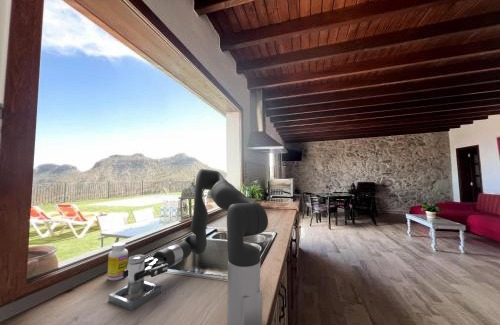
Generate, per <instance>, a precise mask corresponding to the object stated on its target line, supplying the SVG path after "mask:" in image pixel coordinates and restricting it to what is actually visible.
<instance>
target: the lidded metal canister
mask: <svg viewBox="0 0 500 325" xmlns="http://www.w3.org/2000/svg"><path fill="white" fill-rule="evenodd" d="M145 260H146V255H145V254H135V255H131V256H129V257H128V261H127V269H128V276H127V285H126V286H127V293H126V294H127V295H128V296H136V295H138V294H141V293H143V291H145V289H144V281H145V277H143V278H141V279H139V280H137V281H134V274H136V273H138V272H140V271H142V270H145Z"/></svg>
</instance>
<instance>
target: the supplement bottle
mask: <svg viewBox="0 0 500 325" xmlns="http://www.w3.org/2000/svg"><path fill="white" fill-rule="evenodd" d="M126 245H127V244H126V242H124V241H122V242H121V241H120V242H115V243H112V244H111V249H112V250H110V251H109V252H108V255H107V256H108V257H107V258H108V259H107V274H106V275H107V277H106V278H107V280H109V281H118V280H122V279H123V278H125V277H123V271H124V270H126V269H128V258H129V257H128V256H129V250H128V249H127V248H126Z"/></svg>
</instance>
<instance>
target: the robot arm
mask: <svg viewBox="0 0 500 325" xmlns="http://www.w3.org/2000/svg"><path fill="white" fill-rule="evenodd" d="M195 178H196V179H195V186H194V188H195V189H194V201H193V204H194V205H193V213H192V219H191V223H190V231H191V232H192V233H193V234H189V235H187V236H185V237H184V238H183V239H182V240H181V241H180V242H178V243H175V244H173V245H169V246H167V247H164V248H162V249H160V250H157V251H156V252H155V253H154V254H153V256H152V257H148V258H146V259H145V270H142V271H140V272H138V273H136V274H134V281H137V280H139V279H141V278H143V277H144V278H145V277H146V278H148V277H150V278H154V277H156V276H158V275H162V274H164V273H167V272H168V269H170V268H171V267H174V266H176V265H177V264H178V263H180V262H182V261H183V260H185V259H186V258H188V257H189V256H190V255H191V254H192V253H194V254H195V255H202V254H203V253H204V252H206V251H205V250H206V248H207V224H208V218H209V212H208V209H207V207H206V205H205V202H204V198H203V190H206V191H207V190H208V191H210V195H211V198H212V200H213V202H214V203H215V204H216V206H217V207H218V208H220V209H221V210H223V211H226V233H227V236H226V238H227V240H226V241H227V256H228V257H227V299H226V300H227V304H226V306H227V310H226V311H227V312H226V314H227V315H226V325H263V291H262V290H261V250H260V249H259V248H258V247H257V246H255V245H251V244H247V243H245V242H244V237H250V236H256V235H257V236H258V235H260V234H263V233H264V232H265V231H266V230H267V228H268V227H269V226H268V225H269V217H268V213H267V212H266V210H265V208H264V206H263V205H261V203H259V202H257V201H256V200H253V199H252V198H250V197H248V196H246V195H245V194H244V193H242V192H241V191H240V190H239V189H237V188H236V187H235V186H234V185H233V184H232V183H231V182H229V181H227V179H225V177H224V176H223V174H222V173H221V172H220V171H218V170H213V169H207V168H206V169H204V168H201V169H199V170H198V172H197V174H196V177H195ZM123 277H124V278H128V268H127V269H126V270H124V271H123Z"/></svg>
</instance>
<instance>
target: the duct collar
mask: <svg viewBox="0 0 500 325" xmlns="http://www.w3.org/2000/svg"><path fill="white" fill-rule="evenodd" d="M144 290H146V291H147V292H146V293H143V294H142V295H141V296H139V297H137V298H136V299H134V300H130V299H127V298H125V297H123V296H124V295H126V294H127V285H125V286H123V287H121V288H119V289H117V290H115V291H113V292H112V293H109V294H108V302H109V303H112V304H115V305H116V306H119V307H122V308H124V309H127V310H128V311H134V310H135V309H137V308H139V307H140V306H141V305H143V304H144V303H147V301H149V300H151V299H152V298H153V297H155V296H157V295H158V294H160V293H161V292H162V289H161V285H158V284H155V283H152V282H148V281H145V280H144Z"/></svg>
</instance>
